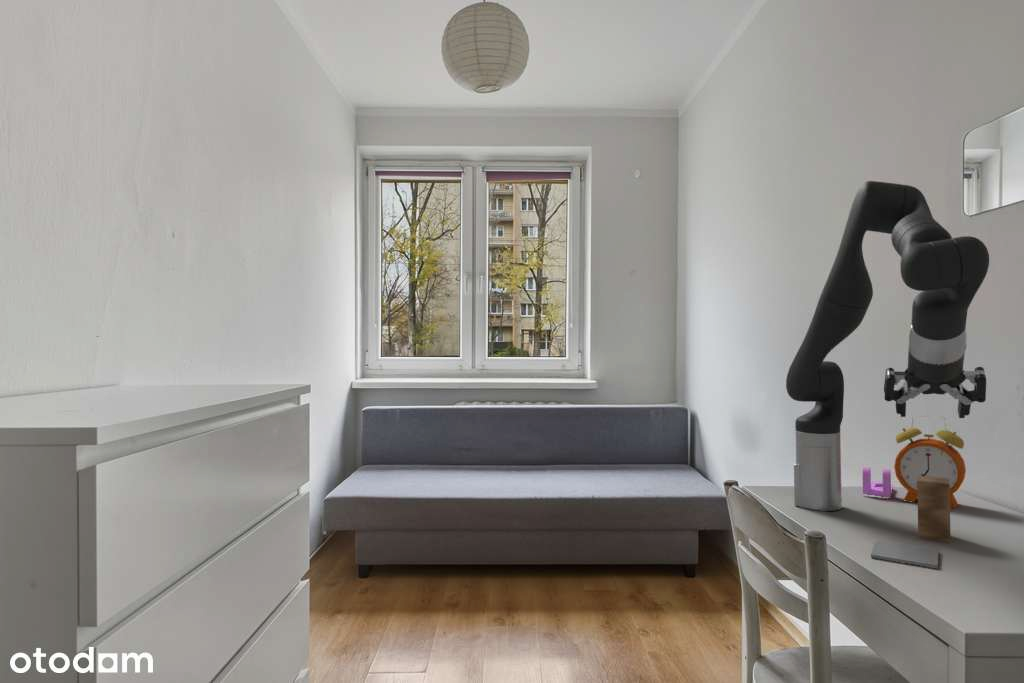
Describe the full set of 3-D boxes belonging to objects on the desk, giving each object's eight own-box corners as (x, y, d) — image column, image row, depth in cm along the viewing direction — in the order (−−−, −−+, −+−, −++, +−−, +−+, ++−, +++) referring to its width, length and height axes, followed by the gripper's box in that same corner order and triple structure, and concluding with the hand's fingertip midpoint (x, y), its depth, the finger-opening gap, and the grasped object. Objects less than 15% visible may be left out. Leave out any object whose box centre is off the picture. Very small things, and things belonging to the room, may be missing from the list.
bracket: (889, 500, 144) (889, 470, 144) (862, 496, 147) (862, 468, 147) (893, 489, 155) (893, 461, 155) (868, 486, 158) (868, 459, 158)
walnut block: (918, 538, 116) (917, 480, 116) (919, 531, 120) (918, 475, 120) (950, 542, 113) (949, 483, 113) (950, 535, 117) (949, 478, 117)
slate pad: (870, 557, 106) (870, 554, 106) (876, 543, 113) (876, 539, 113) (937, 569, 100) (937, 565, 100) (938, 552, 108) (938, 549, 108)
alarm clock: (894, 500, 143) (892, 416, 143) (898, 495, 147) (897, 413, 148) (964, 510, 134) (962, 419, 134) (966, 504, 139) (964, 417, 139)
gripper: (987, 329, 97) (977, 399, 106) (883, 333, 104) (882, 398, 113) (996, 362, 92) (985, 432, 101) (886, 363, 99) (885, 428, 108)
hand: (931, 414), depth 107 cm, fingers open, 8 cm apart
